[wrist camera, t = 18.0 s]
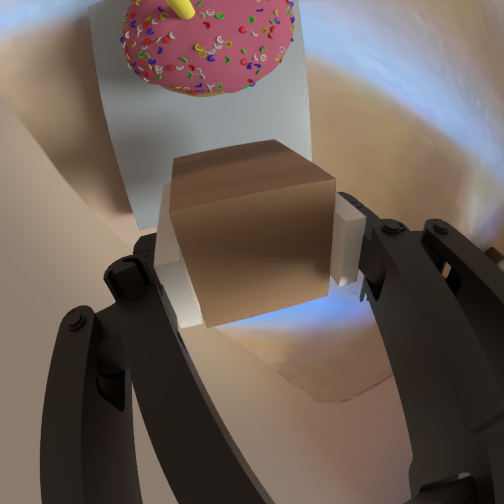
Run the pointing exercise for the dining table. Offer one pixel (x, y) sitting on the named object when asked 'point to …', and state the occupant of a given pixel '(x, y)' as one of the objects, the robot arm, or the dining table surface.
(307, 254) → the walnut block
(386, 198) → the dining table surface
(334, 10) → the dining table surface
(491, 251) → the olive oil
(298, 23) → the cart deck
